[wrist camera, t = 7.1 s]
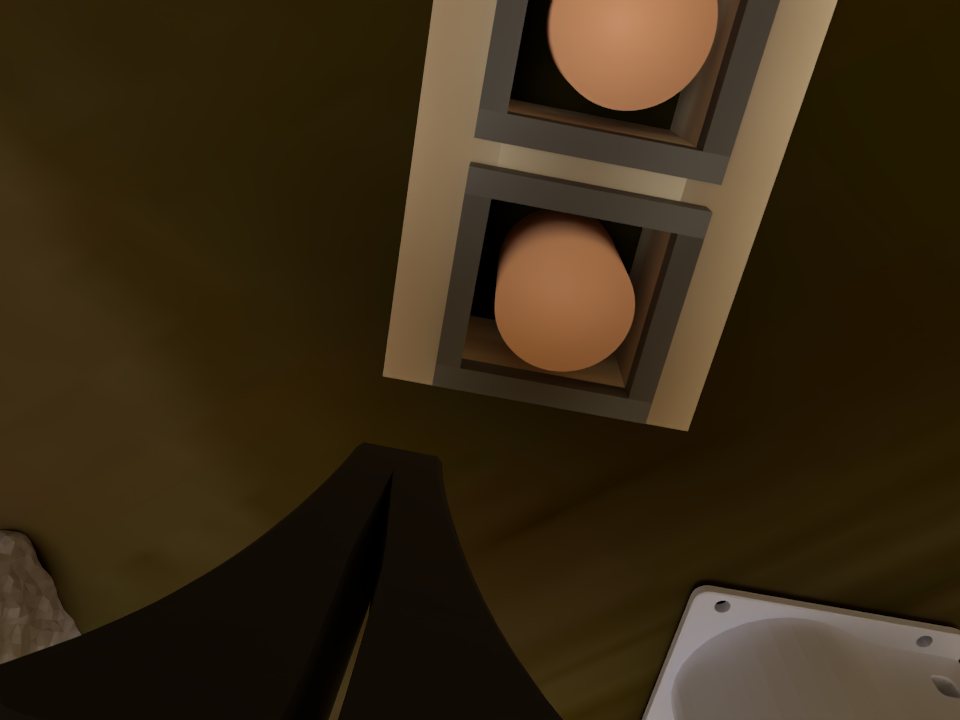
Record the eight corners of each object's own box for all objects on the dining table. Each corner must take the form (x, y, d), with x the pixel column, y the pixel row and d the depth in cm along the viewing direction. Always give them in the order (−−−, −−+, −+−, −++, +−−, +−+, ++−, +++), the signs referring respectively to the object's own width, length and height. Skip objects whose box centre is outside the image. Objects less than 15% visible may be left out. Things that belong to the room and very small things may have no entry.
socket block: (815, -84, 16) (889, -112, 13) (665, 380, 21) (693, 443, 18) (469, -155, 16) (457, -202, 13) (399, 331, 21) (378, 386, 18)
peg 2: (630, 218, 19) (651, 255, 16) (600, 328, 20) (614, 382, 17) (510, 195, 19) (509, 228, 16) (488, 307, 20) (483, 358, 17)
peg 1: (698, -38, 16) (740, -53, 13) (659, 107, 18) (689, 124, 15) (561, -65, 16) (571, -88, 13) (532, 83, 18) (536, 94, 15)
